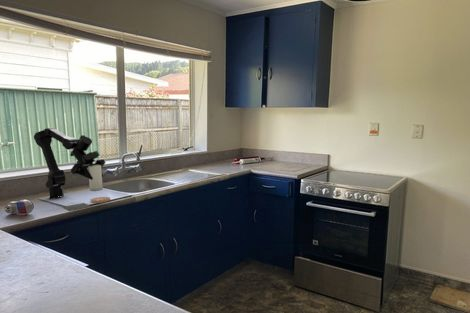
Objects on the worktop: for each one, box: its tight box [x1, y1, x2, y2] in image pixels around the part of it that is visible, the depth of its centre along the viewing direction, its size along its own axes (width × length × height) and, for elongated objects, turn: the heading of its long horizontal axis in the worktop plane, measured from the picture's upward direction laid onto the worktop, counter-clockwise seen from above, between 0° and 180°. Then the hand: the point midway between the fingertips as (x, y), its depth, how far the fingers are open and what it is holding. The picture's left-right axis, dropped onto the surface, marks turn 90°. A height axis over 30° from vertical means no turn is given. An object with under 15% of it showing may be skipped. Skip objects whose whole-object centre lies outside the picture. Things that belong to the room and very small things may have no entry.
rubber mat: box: [61, 202, 92, 212], centre depth 173 cm, size 11×11×1 cm
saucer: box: [90, 196, 111, 204], centre depth 185 cm, size 10×10×1 cm
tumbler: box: [87, 165, 104, 192], centre depth 181 cm, size 6×6×13 cm
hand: (97, 178), depth 181 cm, fingers closed on tumbler, 6 cm apart
